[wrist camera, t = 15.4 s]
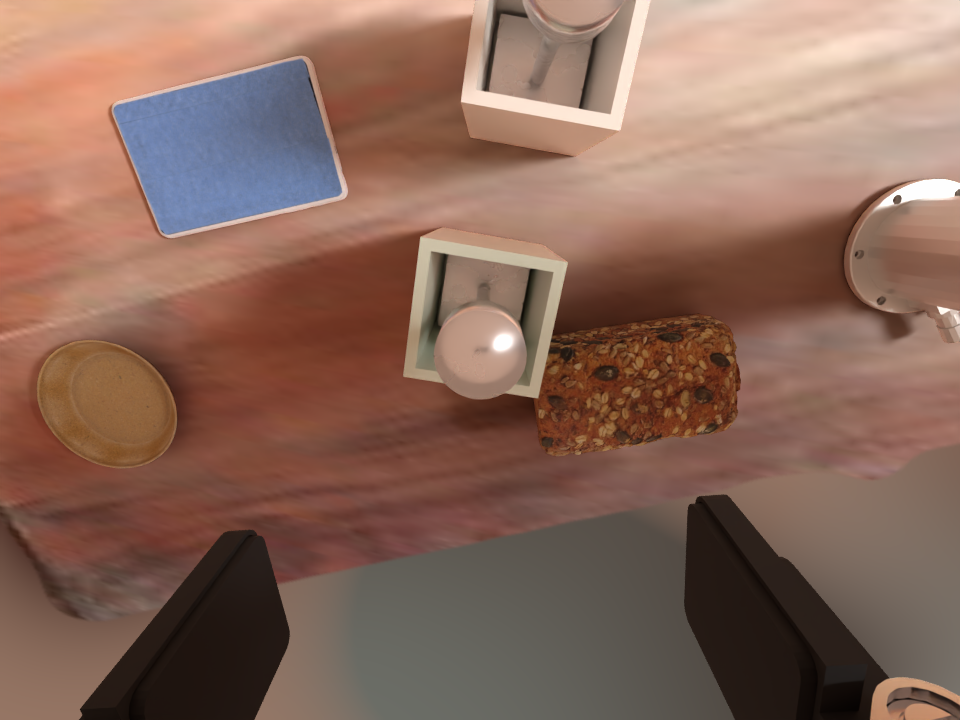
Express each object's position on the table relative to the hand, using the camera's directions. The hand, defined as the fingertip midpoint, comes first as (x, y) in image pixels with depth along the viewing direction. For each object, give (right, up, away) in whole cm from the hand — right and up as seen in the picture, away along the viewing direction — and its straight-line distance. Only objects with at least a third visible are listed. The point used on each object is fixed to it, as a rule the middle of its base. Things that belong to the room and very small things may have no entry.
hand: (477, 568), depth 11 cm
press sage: (0, +12, +38) cm, 40 cm away
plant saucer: (-40, 0, +43) cm, 59 cm away
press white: (+5, +29, +33) cm, 44 cm away
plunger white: (+5, +28, +29) cm, 41 cm away
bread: (+14, +4, +41) cm, 44 cm away
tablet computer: (-23, +24, +36) cm, 49 cm away
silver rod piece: (0, +11, +35) cm, 37 cm away
